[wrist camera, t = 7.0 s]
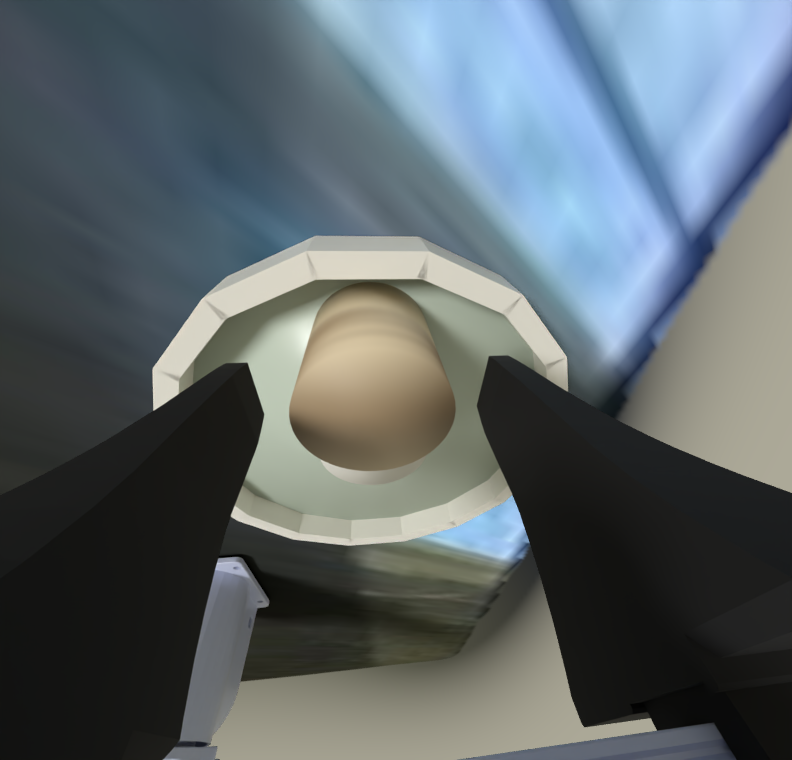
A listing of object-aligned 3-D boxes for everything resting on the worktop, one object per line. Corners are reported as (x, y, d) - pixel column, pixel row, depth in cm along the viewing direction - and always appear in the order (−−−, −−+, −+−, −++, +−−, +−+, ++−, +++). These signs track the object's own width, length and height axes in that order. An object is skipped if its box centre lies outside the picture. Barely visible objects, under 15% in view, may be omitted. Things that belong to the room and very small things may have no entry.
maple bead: (422, 381, 13) (445, 467, 10) (320, 385, 13) (303, 475, 9) (432, 281, 10) (468, 346, 7) (304, 282, 10) (271, 351, 7)
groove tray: (499, 504, 21) (510, 532, 20) (243, 522, 20) (233, 554, 18) (610, 237, 11) (652, 251, 9) (86, 234, 9) (30, 250, 8)
